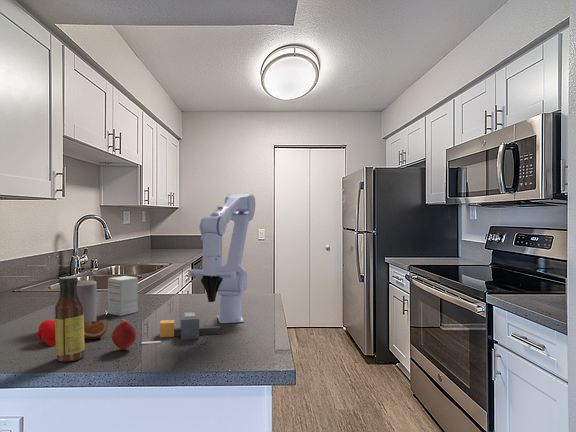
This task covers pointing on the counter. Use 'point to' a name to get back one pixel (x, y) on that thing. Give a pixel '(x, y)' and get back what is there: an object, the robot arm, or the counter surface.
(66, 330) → the sauce bottle
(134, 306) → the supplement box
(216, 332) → the orange and grey bar
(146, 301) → the counter surface
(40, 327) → the cap
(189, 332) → the housing
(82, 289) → the pillar candle
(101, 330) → the fruit slice
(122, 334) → the red rounded lump
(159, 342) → the white slender bar
